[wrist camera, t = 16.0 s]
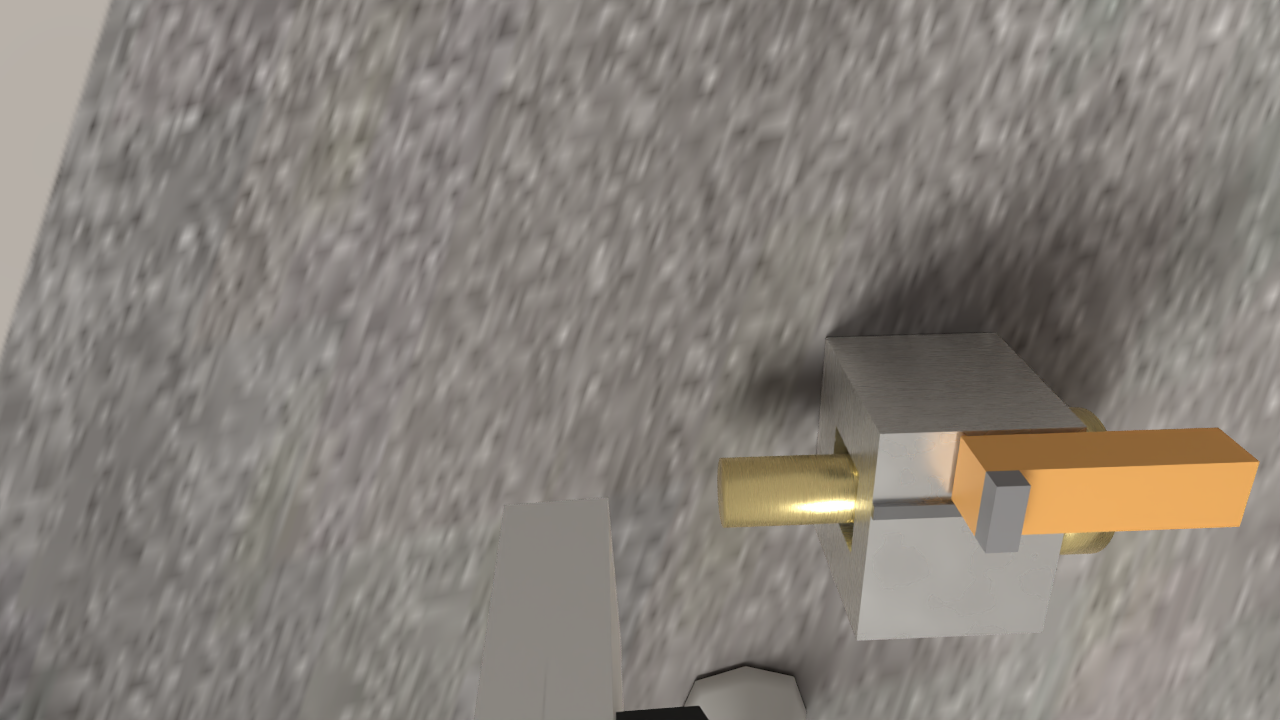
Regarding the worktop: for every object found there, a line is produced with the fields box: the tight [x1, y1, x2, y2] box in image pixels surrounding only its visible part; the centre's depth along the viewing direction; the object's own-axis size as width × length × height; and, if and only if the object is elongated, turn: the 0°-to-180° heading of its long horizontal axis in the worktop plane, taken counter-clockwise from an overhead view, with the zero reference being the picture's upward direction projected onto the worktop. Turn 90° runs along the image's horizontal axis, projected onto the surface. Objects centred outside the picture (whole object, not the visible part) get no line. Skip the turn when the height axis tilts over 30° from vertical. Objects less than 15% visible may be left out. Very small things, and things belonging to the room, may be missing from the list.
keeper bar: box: [951, 428, 1259, 553], centre depth 36 cm, size 3×10×4 cm, turn 90°
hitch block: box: [813, 332, 1087, 641], centre depth 43 cm, size 10×8×9 cm
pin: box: [717, 407, 1115, 555], centre depth 42 cm, size 6×16×6 cm, turn 90°
